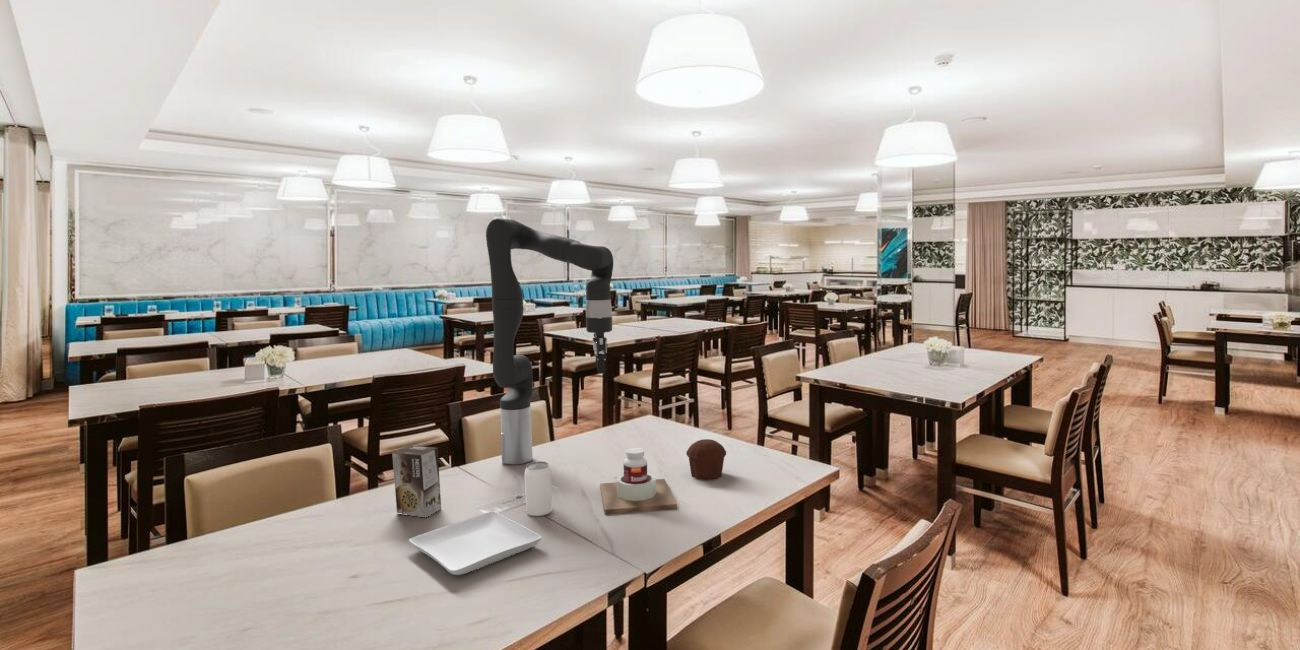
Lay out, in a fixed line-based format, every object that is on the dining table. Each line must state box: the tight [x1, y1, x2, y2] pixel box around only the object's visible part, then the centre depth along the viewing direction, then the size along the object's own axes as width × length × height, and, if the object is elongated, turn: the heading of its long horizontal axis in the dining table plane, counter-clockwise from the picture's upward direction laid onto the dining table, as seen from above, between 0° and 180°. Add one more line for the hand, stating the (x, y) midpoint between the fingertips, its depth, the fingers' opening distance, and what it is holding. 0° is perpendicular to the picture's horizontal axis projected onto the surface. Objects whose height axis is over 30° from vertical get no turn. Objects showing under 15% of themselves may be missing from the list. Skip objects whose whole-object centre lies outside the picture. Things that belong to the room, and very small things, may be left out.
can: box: [524, 461, 553, 517], centre depth 150 cm, size 6×6×12 cm
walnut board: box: [599, 478, 678, 515], centre depth 158 cm, size 18×18×1 cm
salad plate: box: [408, 510, 543, 576], centre depth 131 cm, size 21×21×3 cm
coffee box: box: [391, 445, 442, 519], centre depth 151 cm, size 9×6×16 cm
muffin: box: [685, 439, 727, 481], centre depth 174 cm, size 12×11×10 cm
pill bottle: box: [623, 447, 648, 484], centre depth 157 cm, size 6×6×11 cm
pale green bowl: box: [616, 472, 656, 501], centre depth 158 cm, size 10×10×4 cm
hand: (600, 370), depth 177 cm, fingers open, 8 cm apart
